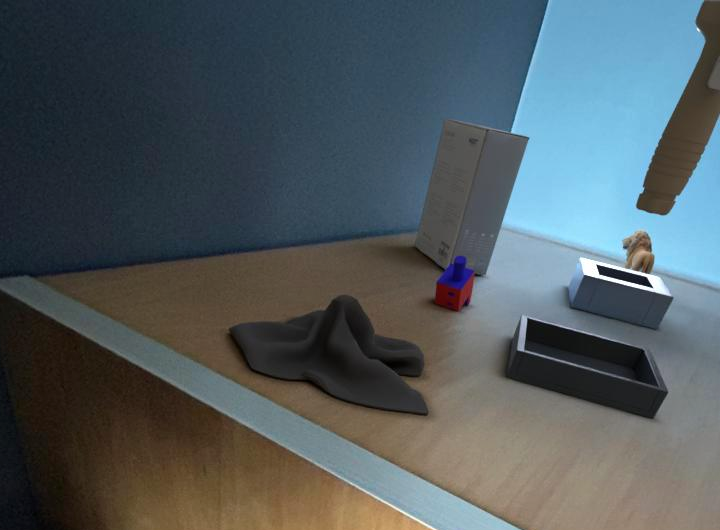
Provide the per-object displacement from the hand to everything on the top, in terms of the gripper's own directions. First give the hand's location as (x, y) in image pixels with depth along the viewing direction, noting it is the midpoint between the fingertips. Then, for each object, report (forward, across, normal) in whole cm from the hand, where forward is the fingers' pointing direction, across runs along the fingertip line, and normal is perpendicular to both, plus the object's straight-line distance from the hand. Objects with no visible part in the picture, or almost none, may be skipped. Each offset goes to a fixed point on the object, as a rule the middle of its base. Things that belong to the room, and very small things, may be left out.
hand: (707, 91), depth 49 cm
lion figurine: (+27, +58, -12) cm, 65 cm away
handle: (+10, 0, 0) cm, 10 cm away
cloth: (+27, -15, +24) cm, 39 cm away
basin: (+27, 0, 0) cm, 27 cm away
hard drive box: (+27, +40, +21) cm, 53 cm away
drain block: (+27, +37, -7) cm, 46 cm away
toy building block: (+27, +14, +17) cm, 35 cm away
